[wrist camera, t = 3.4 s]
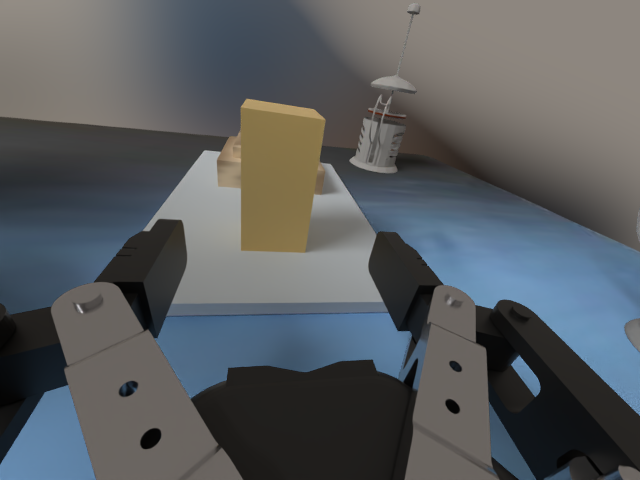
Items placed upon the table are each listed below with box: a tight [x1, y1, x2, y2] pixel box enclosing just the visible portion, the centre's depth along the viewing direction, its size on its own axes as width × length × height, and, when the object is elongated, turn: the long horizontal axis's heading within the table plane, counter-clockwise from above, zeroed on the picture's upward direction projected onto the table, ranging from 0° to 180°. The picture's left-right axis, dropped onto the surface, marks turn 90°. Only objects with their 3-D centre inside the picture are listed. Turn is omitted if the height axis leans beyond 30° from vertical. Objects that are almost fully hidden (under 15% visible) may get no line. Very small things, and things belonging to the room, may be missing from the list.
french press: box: [350, 3, 420, 173], centre depth 46 cm, size 10×12×25 cm
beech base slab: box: [217, 131, 325, 195], centre depth 35 cm, size 12×12×4 cm
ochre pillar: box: [241, 99, 325, 253], centre depth 20 cm, size 5×5×10 cm
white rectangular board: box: [143, 150, 388, 316], centre depth 30 cm, size 20×32×1 cm, turn 9°
